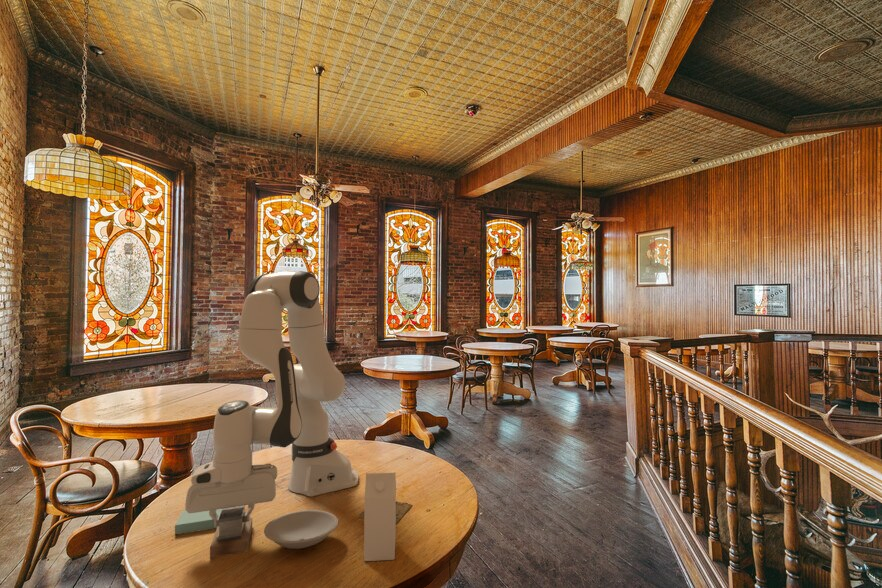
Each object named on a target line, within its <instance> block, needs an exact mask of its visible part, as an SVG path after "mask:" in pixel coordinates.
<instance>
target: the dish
mask: <svg viewBox="0 0 882 588" xmlns="http://www.w3.org/2000/svg"><path fill="white" fill-rule="evenodd" d="M338 525H339V519H338V517H337V516H336V515H335V514H333V513H331V512H329V511H326V510H321V509H319V510H317V509H306V510H304V509H303V510H297V511H293V512H288V513H285V514H282V515H279V516H277V517H275V518H273V519H272V520H270V521H269V522H268V523H267V524H266V525H265V527H264V528H263V529H264V530H263V534H264V536H265V537H266V538H267V539H269V540H270V541H272V542H274V543H275V544H276V545H278V546H281V547H283V548H287V549H292V550H293V549H297V550H298V549H304V548H309V547H312V546H315V545H317V544H319V543H320V542H322V541H323V540H324V539H326V538H327V536H329V535H330V534H331V533H333V532H334V531H335V529H336V528H337V527H338Z"/></svg>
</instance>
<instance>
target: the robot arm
mask: <svg viewBox="0 0 882 588" xmlns="http://www.w3.org/2000/svg"><path fill="white" fill-rule="evenodd" d="M319 282H320V281H319V280H318V279H317V277H316V276H315V275H314V273H311V272H309V271H303V270H299V271H291V270H290V271H288V270H287V271H286V270H283V271H279V272H271V273H263V274H260V275H257V276H255V277H254V278H253V279H252V280H251V282H250V284H249V287H248V295H247V296H246V297H245V299H244V303H243V305H242V309H241V313H240V318H239V319H240V320H239V326H238V337H237V338H238V340H237V341H238V347H239V350H240V352H241V353H242V355H243V356H244V357H246V359H247V360H249V361H250V362H253V363H254V364H257V365H259V366H262V367H263V368H265V369H267V371H269V372H270V373H271V374H272V376H273V377H274V381H275V391H276V401H277V407H263V406H253V405H250V403H249V402H248V401H246V400H233V401H230V402H229V401H228V402H225V403H223V404H221V405H220V406H219V407H218V408H217V410H216V413H215V417H214V423H213V434H212V435H213V436H212V438H213V439H212V443H213V446H214V452H213V453H214V454H213V456H212V457H213V458H212V460H211V461H210V462H206V463H204V464H201V465H199V466H198V467H197V468H196V469H195V470H194V472H193V473H192V475H191V478H190V481H191V482H190V483H191V484H190V486H189V488H188V489H187V493H186V498H185V506H184V507H185V509H184V510H186V511H187V512H188V513H189V514H190V513H197V512H203V511H209V515H210V516H211V518H212V519H213V520H214V527H217V526H219V523H218V520H219V517H220V516H218V515H217V513H216V511H217V509H223V508H230V507H237V506H244V505H245V506H247V511H245V512H244V515H243V522H248V521H250V518H251V514H252V512H253V511H254V509H255V505H256V504H263V503H270V502H273V501H274V500H275V498H276V497H277V496H276V494H277V487H276V479H277V477H278V468H277V466H275V465H273V464H271V463H265V464H254V465H253V450H252V446H251V445H262V446H263V445H264V446H272V447H277V448H278V447H279V448H284V449H285V448H287V447H289V446H290V445H291V460H292V464H291V472H290V475H289V476H290V477H289V480H288V484H287V489H288V490H289V491H291V492H292V493H293V492H294V493H297V494H301V495H305V496H307V497H314V496H315V497H316V496H319V495H323V494H327V493H332V492H336V491H340V490H344V489H349V488H352V487H355V486H357V485H358V483H359V474H358V472H357V470H356V469H355V468H353V467H352V464H351V461H350V459H349V457H348V456H347V455H345V454H344V453H343V452H341V451H339V450H338V449H337V448H338V445H337V443H336V442H335V440H334V438H333V437H329V424H330V423H329V418H330V417H329V415H328V413H327V411H326V410H325V409H324V407H323V405H322V404H321V402H322V403H323V402H324V403H325V402H333V401H336V400H339V398H340V397H341V396H342V395H343V393H344V391H345V388H346V380H345V379H346V378H345V375H344V374H343V373H342V372H341V371H340V370H339V369H338V367H336V365H335V363H334V362H333V360H332V357H331V356H330V352H329V351H328V347H327V343H326V335H325V334H326V333H325V327H324V326H325V325H324V324H325V323H324V317H323V312H322V307H321V303H320V300H319V299H320V298H319V296H320V291H321V288H320V287H321V286H320V283H319ZM284 309H286V311H287V330H288V338H289V340H288V341H289V348H290V349H288V348H286V346H285V344H284V340H283V334H282V330H283V329H282V328H283V313H282V312H283V311H284ZM292 354H293V355H294V356H295V357H296V359H297V360H298V362H299V363H296V364H294V358H293V355H292Z"/></svg>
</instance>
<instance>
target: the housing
mask: <svg viewBox="0 0 882 588" xmlns="http://www.w3.org/2000/svg"><path fill="white" fill-rule="evenodd" d="M244 512H246V505H244V506H237V507H230V508H223V509H222V511H221V514H220V517H219V520H218V523H219V539H218V543H220V542H226V541H231V540H237V539H241V538H242V534H243V530H244V526H245V522H243V515H244Z"/></svg>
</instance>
